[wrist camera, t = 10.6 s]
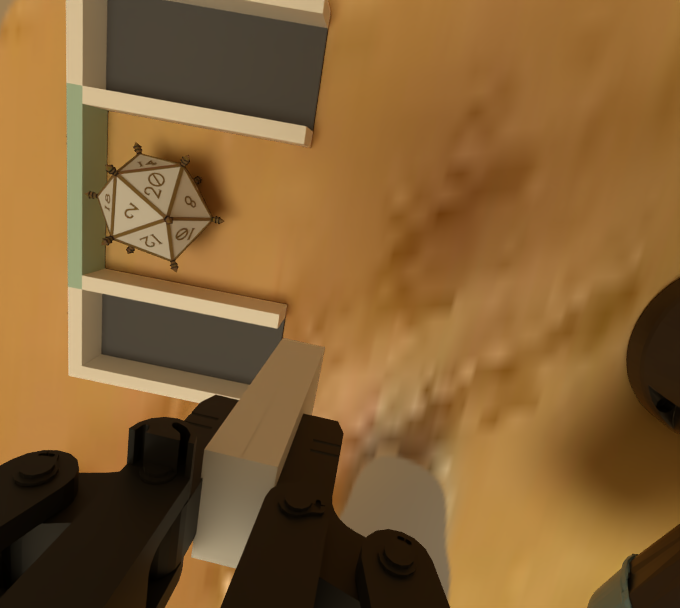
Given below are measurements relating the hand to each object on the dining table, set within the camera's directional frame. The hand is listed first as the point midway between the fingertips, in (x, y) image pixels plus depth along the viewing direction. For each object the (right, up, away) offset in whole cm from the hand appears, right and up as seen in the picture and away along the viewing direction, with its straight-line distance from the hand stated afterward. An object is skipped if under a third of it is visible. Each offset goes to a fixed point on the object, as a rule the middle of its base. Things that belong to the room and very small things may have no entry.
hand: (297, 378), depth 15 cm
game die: (-12, +11, +21) cm, 26 cm away
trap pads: (-10, +10, +20) cm, 25 cm away
